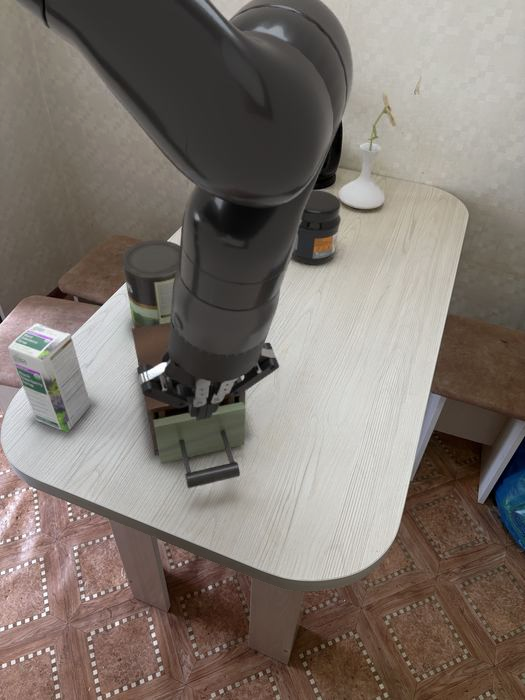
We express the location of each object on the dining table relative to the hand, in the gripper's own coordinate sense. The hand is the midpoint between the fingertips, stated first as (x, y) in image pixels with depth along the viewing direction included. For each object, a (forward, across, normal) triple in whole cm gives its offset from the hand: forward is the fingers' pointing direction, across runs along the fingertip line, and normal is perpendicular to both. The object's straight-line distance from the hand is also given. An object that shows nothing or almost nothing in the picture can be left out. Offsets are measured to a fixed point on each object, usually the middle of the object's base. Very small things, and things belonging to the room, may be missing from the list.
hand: (200, 411), depth 52 cm
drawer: (+20, -3, -6) cm, 21 cm away
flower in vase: (+32, -61, -61) cm, 92 cm away
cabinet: (+22, -3, -11) cm, 25 cm away
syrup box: (+25, +14, -15) cm, 32 cm away
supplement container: (+29, -38, -44) cm, 65 cm away
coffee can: (+28, -4, -30) cm, 41 cm away
